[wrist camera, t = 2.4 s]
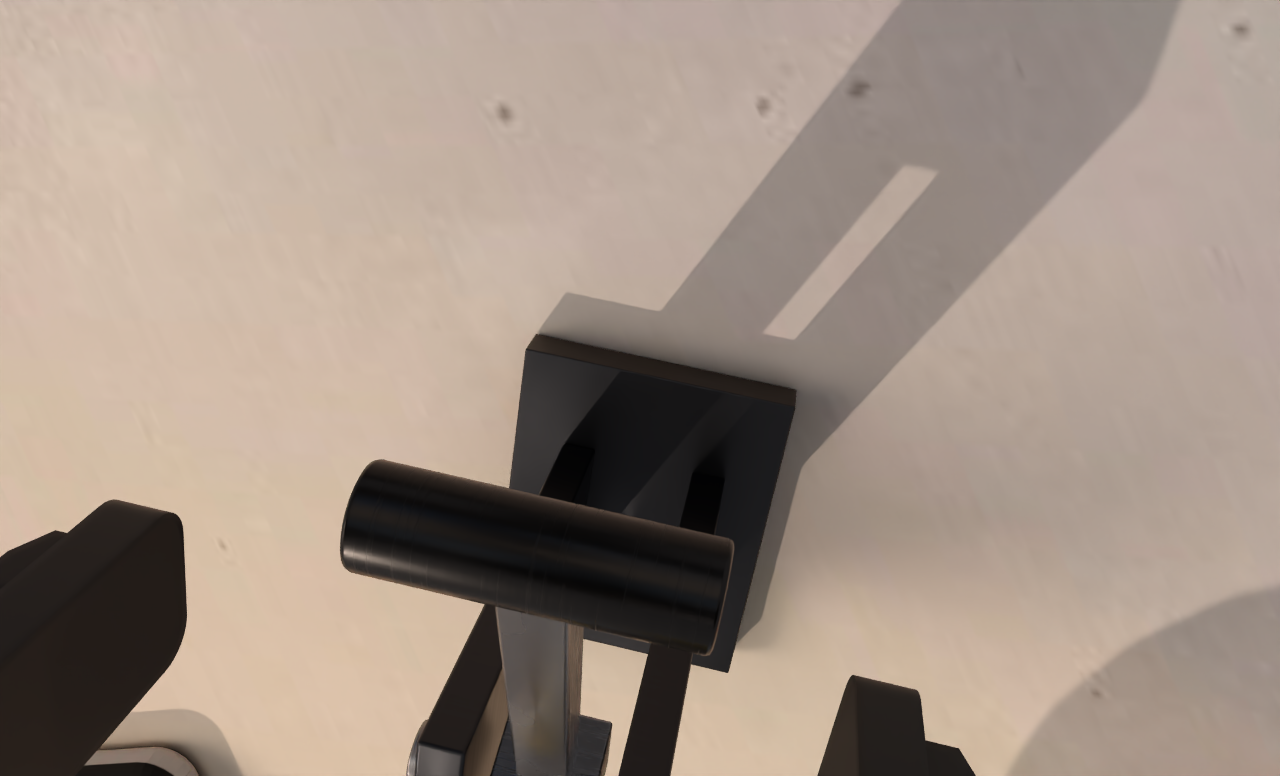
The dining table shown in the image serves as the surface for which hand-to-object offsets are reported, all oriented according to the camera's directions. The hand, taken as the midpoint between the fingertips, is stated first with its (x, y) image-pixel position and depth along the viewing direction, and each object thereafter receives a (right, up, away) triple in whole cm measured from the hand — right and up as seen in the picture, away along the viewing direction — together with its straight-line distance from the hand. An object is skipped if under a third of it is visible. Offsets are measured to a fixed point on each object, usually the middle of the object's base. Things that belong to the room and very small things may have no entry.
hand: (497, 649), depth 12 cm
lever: (0, -2, +7) cm, 7 cm away
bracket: (+2, -1, +21) cm, 21 cm away
